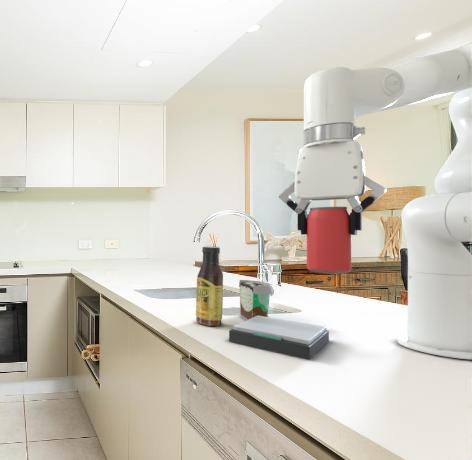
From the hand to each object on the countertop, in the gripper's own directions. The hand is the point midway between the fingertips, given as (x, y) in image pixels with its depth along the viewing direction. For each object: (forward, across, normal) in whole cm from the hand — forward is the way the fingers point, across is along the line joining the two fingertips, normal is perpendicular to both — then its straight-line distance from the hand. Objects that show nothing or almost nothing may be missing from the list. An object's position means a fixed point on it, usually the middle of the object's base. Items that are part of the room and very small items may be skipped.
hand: (328, 233), depth 66 cm
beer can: (+7, 0, 0) cm, 7 cm away
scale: (+23, +9, -6) cm, 26 cm away
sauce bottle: (+24, +26, -9) cm, 36 cm away
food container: (+24, +18, -23) cm, 38 cm away
